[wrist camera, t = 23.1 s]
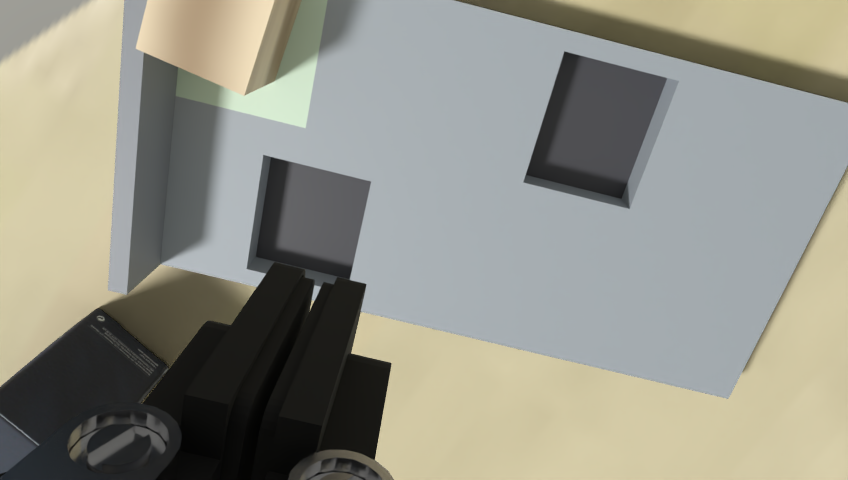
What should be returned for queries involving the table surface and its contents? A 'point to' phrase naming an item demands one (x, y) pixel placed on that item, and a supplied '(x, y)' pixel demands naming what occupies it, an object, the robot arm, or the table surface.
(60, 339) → the small box
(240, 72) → the beech block
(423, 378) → the table surface
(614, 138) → the trap deck
